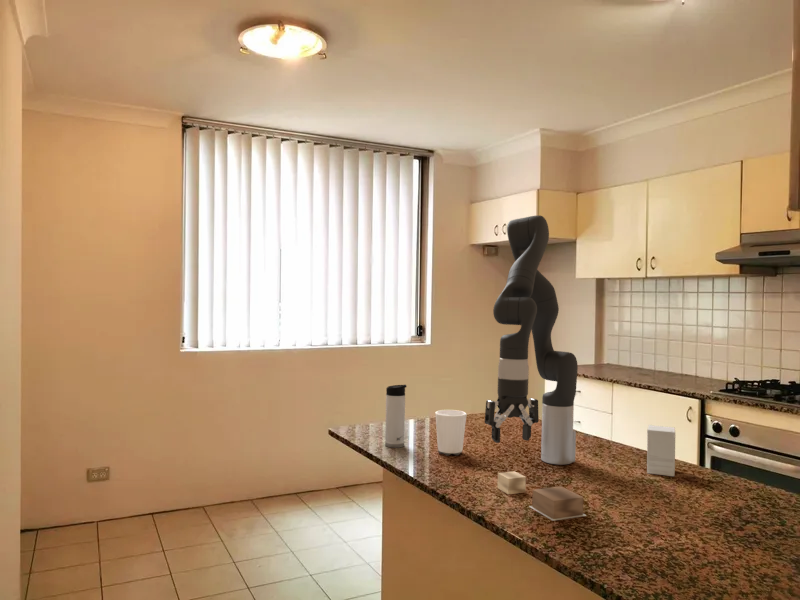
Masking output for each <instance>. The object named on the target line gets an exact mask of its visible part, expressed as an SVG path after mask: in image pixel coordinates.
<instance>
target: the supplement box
mask: <svg viewBox="0 0 800 600" xmlns="http://www.w3.org/2000/svg"><path fill="white" fill-rule="evenodd" d="M646 431H647V433H646V435H647V437H646V439H647V441H646V442H647V446H646V448H647V451H646V453H647V454H646V465H647V466H646V473H647V474H651V475H658V476H659V475H660V476H666V477H667V476H668V477H675V471H676V469H675V468H676V428H675V427H674V426H663V425H652V424H648V427H647V430H646Z"/></svg>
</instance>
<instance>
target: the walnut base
mask: <svg viewBox="0 0 800 600" xmlns="http://www.w3.org/2000/svg"><path fill="white" fill-rule="evenodd" d="M531 496H532V499H531V500H532V503H531V504H532V505H531V506H532V507H533V508H535V509H537V510H538V511H540V512H542V513H544V514H545V515H547V516H549V517H550V518H552V519H558V518H565V517H572V516H579V515H583V514H584V496H582V495H580V494H578V493H577V492H575V491H572V490H570V489H568V488H565V487H564V486H562V485H560V486H559V485H558V486H551V487H544V488H536V489H532V495H531Z"/></svg>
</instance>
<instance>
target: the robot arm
mask: <svg viewBox="0 0 800 600" xmlns="http://www.w3.org/2000/svg"><path fill="white" fill-rule="evenodd" d="M506 225H507V227H506V232H507V233H506V234H507V239H508V243H509V247H510V250H511V252H512V253H511V254H512V256H513V260H514V262H513V264H511V265H512V266H511V267H510V268H509V272H508V275H507V279H506V284H505V286H504V288H503V290H502V291H501V293H500V294H499V295H498V296H497V299H496V301H495V302H494V304H493V305H494V306H493V314H492V315H493V318H494V320H495V322H497V323H498V324H500V325H507V326H509V325H510V326H511V325H512V326H520V329H519V330H518V331H517V332H514V333H507V334H503V335H502V336H501V337H500V339H499V360H498V361H499V362H498V366H497V367H498V368H497V369H498V370H497V399H496V400H492V399H486V402H485V411H484V424H486V425H487V426H490V427H491V440H492V441H493V442H494V443H496V444H498V443H501V425H502V424H503V422H505V421H506V419H507V418H508V419H509V418H510V419H511V418H520V419H521V421H522V423H523V424H522V436H521V437H522V440H524V441H526V442H528V441H529V440H530V439H531V438H532V426H533V424H537V423H539V421H540V420H539V400H538V399H537V398H533V397H530V398H528V394H529V374H530V371H529V370H530V367H529V345H530V344H529V342H530V337H531V334H532V340H533V341H532V342H533V346H534V347H533V349H534V356H535V362H536V363H535V364H536V369H537V371H538V375H540V376H539V377H541V378H542V380H545V381H549V382H550V381H551V382H556V387H555V389H553V390H552V391H548V392H544V393H543V394H542V397H541V398H542V400H541V403H542V404H541V406H542V407H541V442H540V444H541V446H540V447H541V448H540V449H541V450H540V451H541V452H540V460H541V461H542V462H544V463H547V464H550V465H551V464H552V465H570V464H572V463H575V462H576V447H577V445H576V444H577V443H576V442H577V441H576V438H577V435H576V434H577V432H576V429H574V405H575V402H574V401H575V398H576V395H577V382H578V381H577V380H578V371H579V370H578V369H579V368H578V360H577V358H576V355H575V354H574V353H572V352H569V351H560V350H555V349H554V347H553V342H552V333H553V332H552V331H553V328H554V326H555V324H556V321H557V319H558V315H559V309H560V308H559V307H560V306H559V303H558V298H557V294H556V293H557V292H556V289H555V288H554V286H553V284H552V283H551V281H550V280H548V278H546V276H544V275H543V273H541V272H540V271H539V270H538V268H539V265H540V263H541V261H542V258H543V256H544V254H545V251H546V249H547V247H548V243H549V238H550V231H549V225H548V222H547V219H546V218H545V217H544V216H543V215H532V216H526V217H520V218H515V219H511V220H509V222H508V223H507V224H506ZM527 407H528V412H527V410H526V408H527ZM497 408H498V410H497ZM495 412H496V413H495Z"/></svg>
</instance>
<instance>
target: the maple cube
mask: <svg viewBox="0 0 800 600" xmlns="http://www.w3.org/2000/svg"><path fill="white" fill-rule="evenodd" d="M526 478H527V477H526V476H525V475H523V474H521V473H519V472H516V471H507V472H506V471H504V472H497V489H498V490H500V491H501V492H503V493H505V494H507V495H513V494H514V495H515V494H521V493H522V494H523V493H526V489H527V488H526V485H527V484H526Z"/></svg>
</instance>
